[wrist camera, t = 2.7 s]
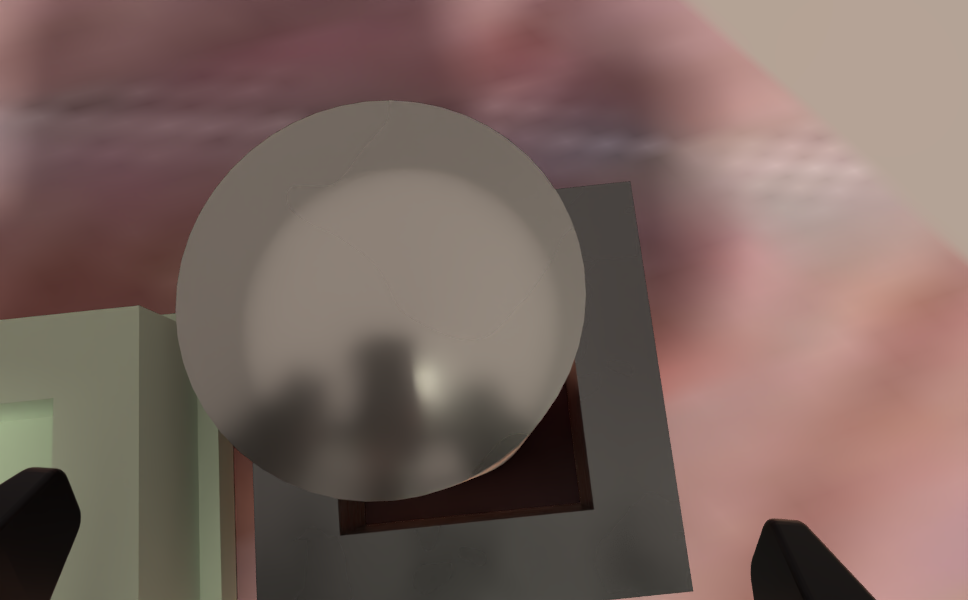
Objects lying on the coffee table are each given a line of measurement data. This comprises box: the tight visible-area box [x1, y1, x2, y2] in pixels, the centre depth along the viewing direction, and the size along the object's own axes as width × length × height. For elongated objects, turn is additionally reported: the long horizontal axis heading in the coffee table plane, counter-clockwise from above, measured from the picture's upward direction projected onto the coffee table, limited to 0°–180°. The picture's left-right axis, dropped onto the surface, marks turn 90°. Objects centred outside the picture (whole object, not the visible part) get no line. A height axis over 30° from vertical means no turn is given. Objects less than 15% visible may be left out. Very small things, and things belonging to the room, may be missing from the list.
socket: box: [253, 181, 693, 600], centre depth 18 cm, size 9×9×3 cm
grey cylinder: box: [176, 100, 586, 502], centre depth 13 cm, size 4×4×13 cm
